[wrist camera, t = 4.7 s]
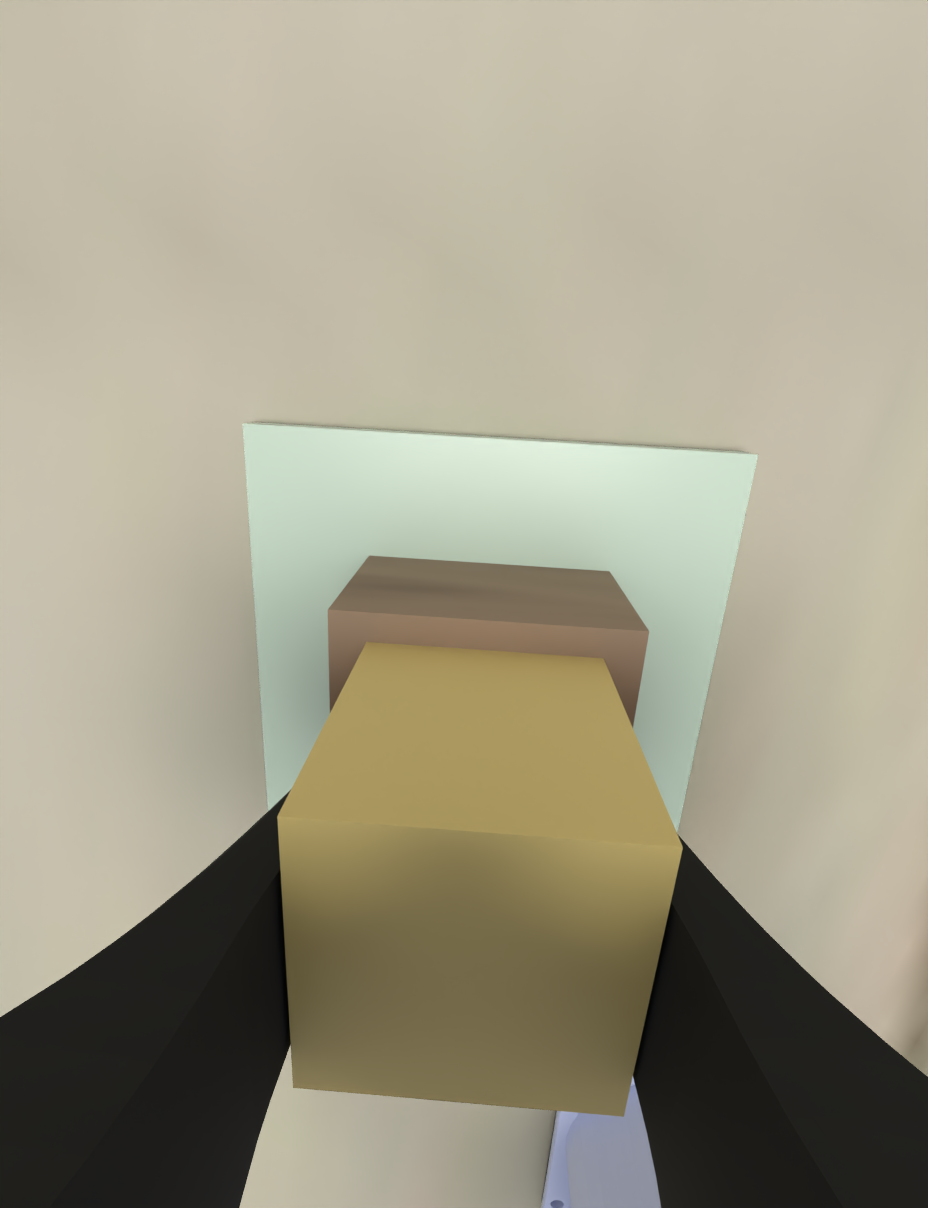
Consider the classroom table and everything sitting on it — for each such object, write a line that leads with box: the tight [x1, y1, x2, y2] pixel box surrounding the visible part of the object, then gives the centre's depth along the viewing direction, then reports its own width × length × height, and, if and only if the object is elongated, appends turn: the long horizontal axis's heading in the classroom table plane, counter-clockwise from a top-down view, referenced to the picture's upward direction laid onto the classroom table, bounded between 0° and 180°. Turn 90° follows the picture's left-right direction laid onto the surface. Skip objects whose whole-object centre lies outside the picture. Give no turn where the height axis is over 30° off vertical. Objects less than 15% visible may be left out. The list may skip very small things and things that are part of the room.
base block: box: [328, 556, 649, 727], centre depth 14 cm, size 6×6×4 cm
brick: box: [277, 642, 683, 1117], centre depth 10 cm, size 4×4×5 cm
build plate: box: [243, 422, 758, 833], centre depth 16 cm, size 12×12×1 cm
